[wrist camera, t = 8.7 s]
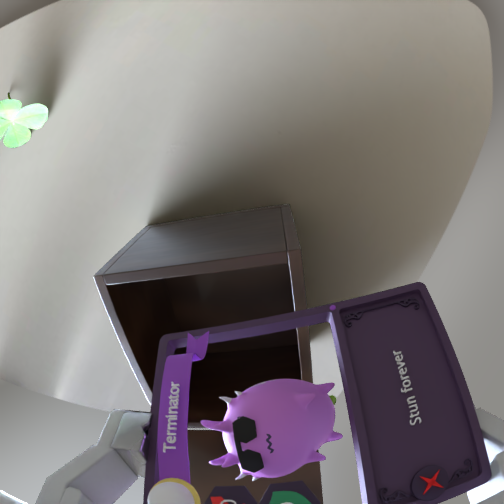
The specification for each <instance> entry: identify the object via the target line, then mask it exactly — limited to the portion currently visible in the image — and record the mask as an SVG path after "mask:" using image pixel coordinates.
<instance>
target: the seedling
mask: <svg viewBox="0 0 504 504" xmlns="http://www.w3.org/2000/svg"><path fill="white" fill-rule="evenodd" d="M9 94H10V93H8V98H9V99H8V100H7V99H5V100H2V101H0V140H1V139H2V137H3V135H4V134H5V132H6V130H7V128H8V130H7V132H6V135H5V136H4V140H3V142H4V145H5V146H6V147H10V148H16V147H18V146H20V145H23V144H25V143H26V142H27V141H28V140H29V139H30V137H31V131H30V130H29V129H28V128H30V129H39V128H41V127H42V126H43V124H44V122H46V121H47V119H48V108H47V107H45V106H44V105H41V104H31V105H28V106H25V107H23V108H21V106H22V104H21V102H20V101H19V100H13V99H11V98H10V95H9ZM20 108H21V109H20ZM17 112H18V113H17Z"/></svg>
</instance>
